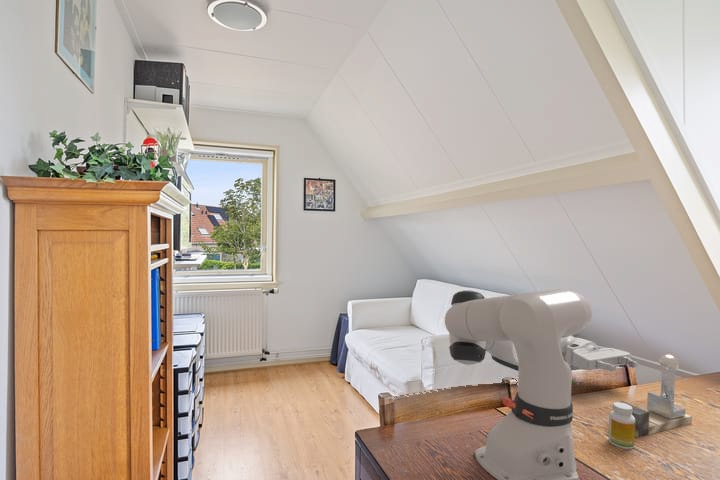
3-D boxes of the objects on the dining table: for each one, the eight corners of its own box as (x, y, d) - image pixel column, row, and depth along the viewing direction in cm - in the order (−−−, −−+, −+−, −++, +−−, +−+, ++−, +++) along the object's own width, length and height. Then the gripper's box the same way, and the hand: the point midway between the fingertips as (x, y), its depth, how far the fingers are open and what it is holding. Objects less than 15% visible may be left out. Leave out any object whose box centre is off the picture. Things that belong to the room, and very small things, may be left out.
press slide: (669, 419, 107) (672, 359, 107) (646, 409, 113) (649, 352, 112) (685, 415, 110) (688, 356, 109) (662, 406, 115) (664, 350, 115)
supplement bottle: (638, 451, 96) (640, 411, 96) (613, 448, 97) (615, 409, 97) (628, 439, 101) (629, 402, 101) (604, 436, 102) (606, 399, 102)
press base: (638, 437, 102) (639, 414, 102) (612, 424, 109) (612, 403, 108) (691, 423, 110) (692, 402, 110) (664, 411, 117) (665, 391, 116)
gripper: (606, 358, 139) (647, 372, 126) (562, 365, 132) (601, 381, 119) (607, 341, 139) (648, 353, 126) (563, 346, 131) (602, 360, 119)
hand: (625, 366), depth 122 cm, fingers open, 8 cm apart
